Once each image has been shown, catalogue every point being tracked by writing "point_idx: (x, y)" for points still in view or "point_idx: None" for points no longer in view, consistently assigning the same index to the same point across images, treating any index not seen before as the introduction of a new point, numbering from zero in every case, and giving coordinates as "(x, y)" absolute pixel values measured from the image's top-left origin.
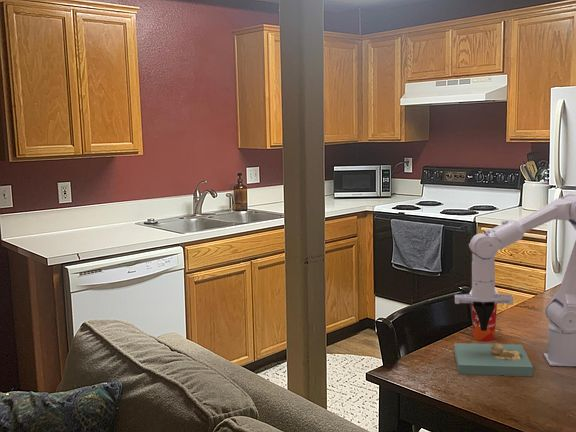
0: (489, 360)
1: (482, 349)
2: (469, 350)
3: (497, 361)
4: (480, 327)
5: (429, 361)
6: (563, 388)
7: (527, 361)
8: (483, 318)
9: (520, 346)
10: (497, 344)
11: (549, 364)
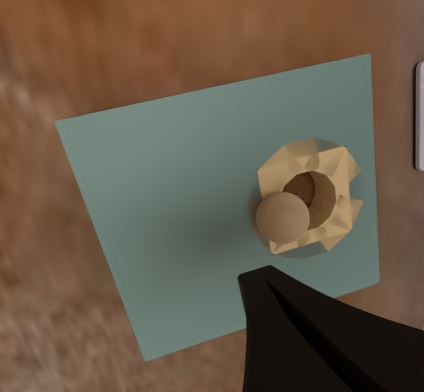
0: None
1: (209, 172)
2: (155, 202)
3: None
4: (241, 291)
5: (2, 268)
6: (413, 307)
7: (370, 242)
8: (291, 310)
9: (364, 82)
10: (295, 234)
11: (416, 165)
